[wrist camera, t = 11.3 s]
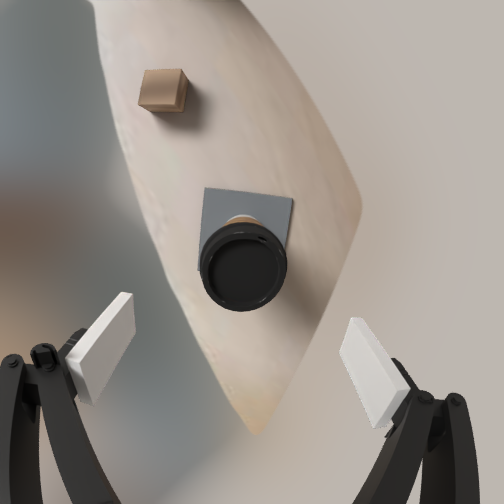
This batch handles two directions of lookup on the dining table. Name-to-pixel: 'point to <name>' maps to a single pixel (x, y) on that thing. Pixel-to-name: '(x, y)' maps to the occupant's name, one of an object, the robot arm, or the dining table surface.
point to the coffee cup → (243, 264)
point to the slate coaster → (243, 212)
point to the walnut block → (163, 90)
